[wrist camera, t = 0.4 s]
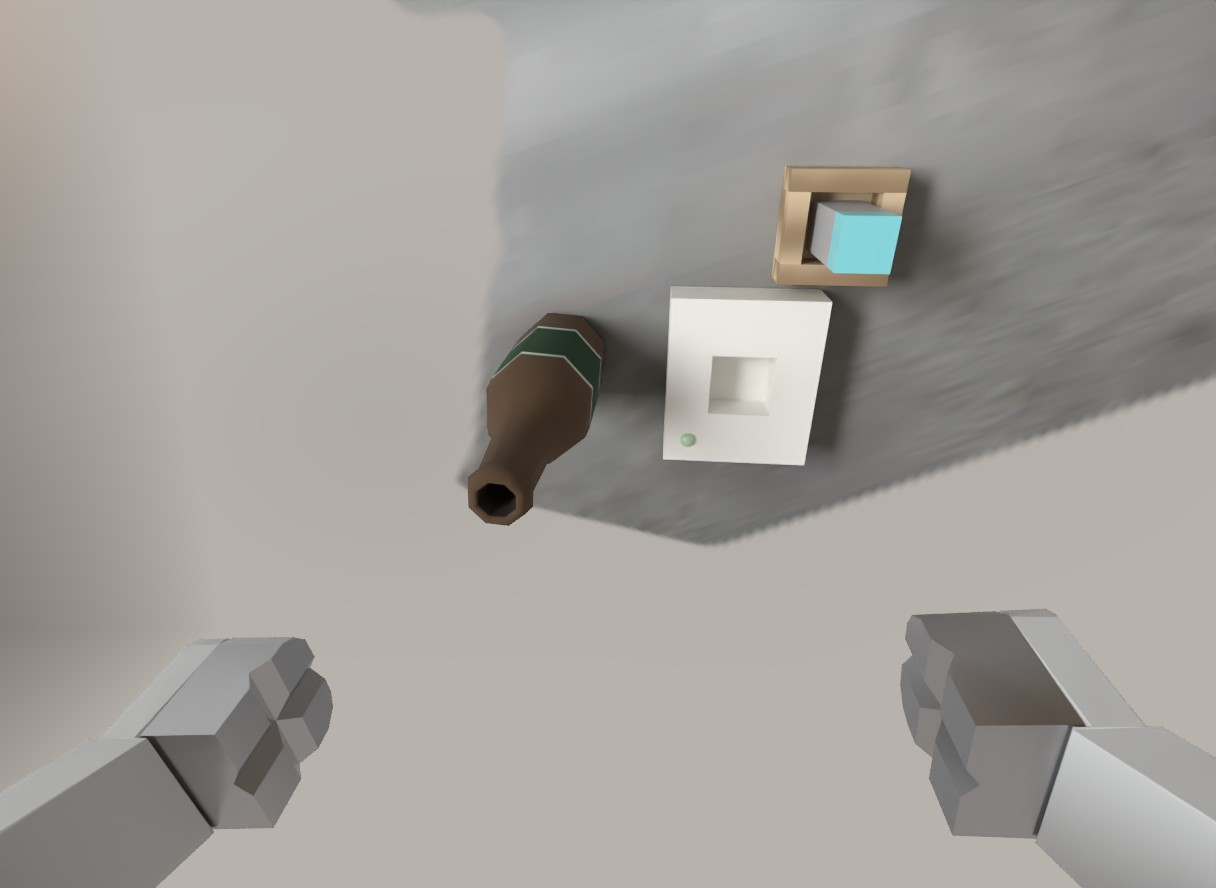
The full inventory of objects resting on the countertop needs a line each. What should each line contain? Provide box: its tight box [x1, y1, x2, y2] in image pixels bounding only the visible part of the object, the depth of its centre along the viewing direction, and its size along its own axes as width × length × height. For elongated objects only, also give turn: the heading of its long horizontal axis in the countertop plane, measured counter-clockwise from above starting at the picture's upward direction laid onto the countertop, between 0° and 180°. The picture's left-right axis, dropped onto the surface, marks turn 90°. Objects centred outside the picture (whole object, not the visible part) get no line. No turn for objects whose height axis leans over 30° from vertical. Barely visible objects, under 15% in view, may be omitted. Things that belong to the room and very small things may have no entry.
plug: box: [806, 200, 902, 274], centre depth 42 cm, size 4×4×9 cm
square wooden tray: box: [772, 166, 911, 287], centre depth 45 cm, size 8×8×3 cm
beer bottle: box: [468, 313, 605, 526], centre depth 43 cm, size 8×8×24 cm
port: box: [663, 286, 833, 465], centre depth 51 cm, size 14×12×4 cm
